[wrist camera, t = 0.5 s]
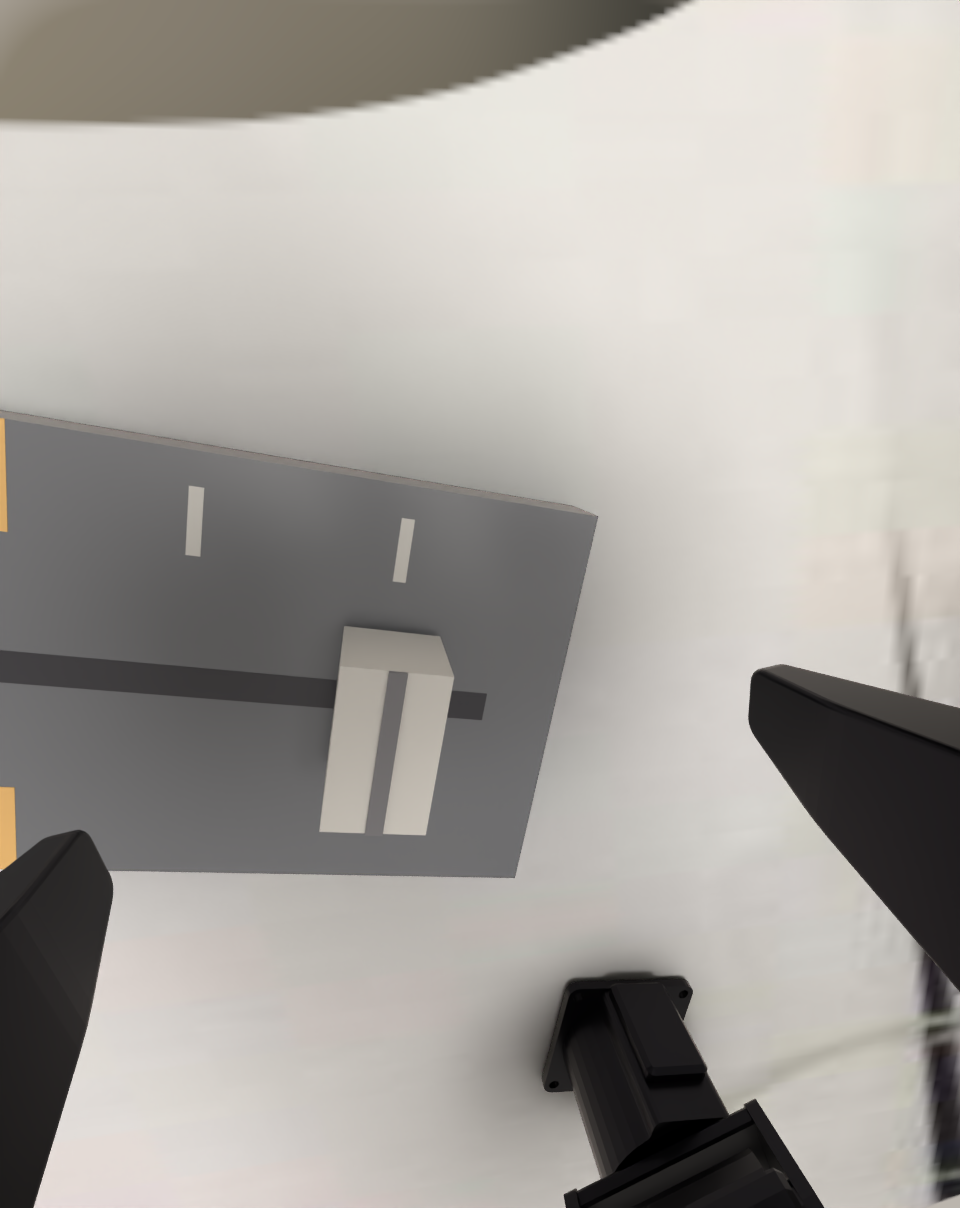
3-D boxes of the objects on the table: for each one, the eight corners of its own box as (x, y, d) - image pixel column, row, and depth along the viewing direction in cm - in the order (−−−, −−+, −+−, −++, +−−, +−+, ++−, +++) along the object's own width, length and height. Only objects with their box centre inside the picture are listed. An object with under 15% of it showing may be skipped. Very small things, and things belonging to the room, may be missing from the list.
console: (500, 835, 25) (514, 878, 23) (-193, 811, 20) (-268, 864, 18) (572, 505, 22) (598, 516, 19) (-251, 368, 16) (-357, 359, 14)
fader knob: (416, 773, 20) (425, 837, 17) (326, 768, 20) (319, 833, 17) (440, 636, 19) (454, 678, 16) (344, 625, 18) (339, 667, 15)
